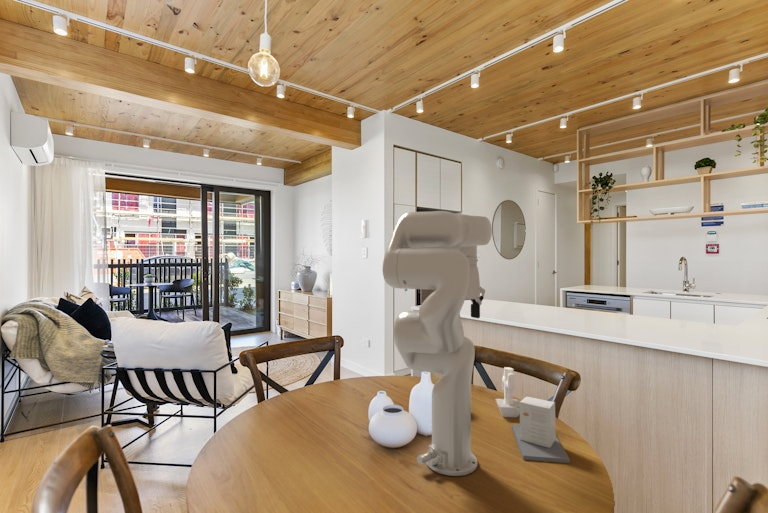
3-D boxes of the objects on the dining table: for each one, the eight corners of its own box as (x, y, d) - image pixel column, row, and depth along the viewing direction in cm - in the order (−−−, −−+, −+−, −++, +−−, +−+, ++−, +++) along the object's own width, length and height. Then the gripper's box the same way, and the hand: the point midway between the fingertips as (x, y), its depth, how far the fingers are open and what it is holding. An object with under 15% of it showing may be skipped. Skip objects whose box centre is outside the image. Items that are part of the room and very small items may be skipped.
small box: (555, 440, 106) (556, 402, 106) (550, 449, 102) (550, 408, 101) (525, 432, 111) (526, 395, 111) (519, 440, 106) (519, 401, 106)
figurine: (516, 408, 130) (516, 363, 130) (524, 421, 121) (524, 372, 121) (494, 408, 131) (494, 363, 131) (500, 420, 121) (500, 372, 121)
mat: (569, 463, 97) (569, 459, 97) (523, 459, 98) (523, 455, 98) (550, 430, 114) (550, 427, 114) (511, 428, 116) (511, 424, 116)
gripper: (474, 261, 126) (474, 314, 126) (433, 262, 116) (433, 320, 116) (493, 262, 119) (493, 318, 120) (451, 262, 110) (451, 323, 110)
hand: (463, 319), depth 118 cm, fingers open, 9 cm apart
